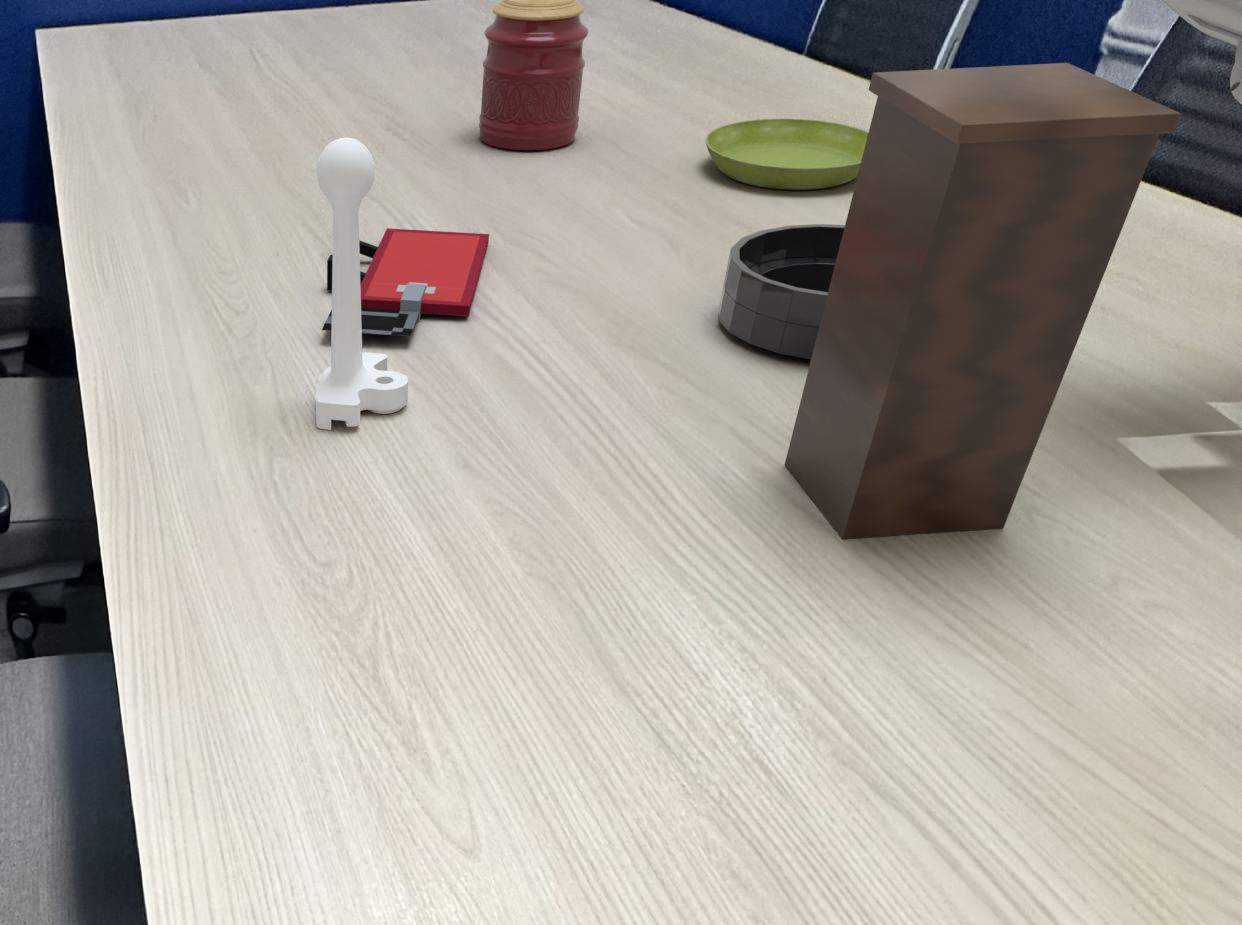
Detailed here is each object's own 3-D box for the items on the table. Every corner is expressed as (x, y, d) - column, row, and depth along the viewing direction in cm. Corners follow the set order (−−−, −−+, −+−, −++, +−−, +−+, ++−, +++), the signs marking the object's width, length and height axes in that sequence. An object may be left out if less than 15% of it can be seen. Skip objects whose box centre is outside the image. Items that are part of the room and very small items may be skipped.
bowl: (883, 285, 126) (902, 219, 122) (972, 361, 112) (996, 290, 108) (691, 296, 125) (703, 230, 121) (757, 374, 111) (773, 303, 107)
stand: (935, 452, 100) (1068, 62, 82) (1013, 531, 91) (1182, 113, 72) (775, 462, 100) (872, 72, 81) (838, 543, 90) (962, 124, 72)
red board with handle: (301, 339, 119) (460, 350, 117) (301, 307, 117) (462, 318, 115) (352, 240, 140) (488, 248, 138) (353, 212, 138) (490, 219, 136)
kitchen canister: (466, 130, 170) (475, -33, 158) (558, 122, 172) (574, -39, 159) (493, 156, 161) (505, -15, 149) (590, 148, 163) (610, -22, 150)
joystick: (338, 375, 114) (335, 118, 99) (420, 382, 112) (429, 122, 98) (305, 427, 106) (296, 157, 92) (392, 435, 105) (397, 162, 90)
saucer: (687, 149, 161) (692, 119, 159) (851, 146, 160) (858, 116, 158) (717, 198, 147) (723, 167, 144) (897, 195, 146) (906, 164, 144)
